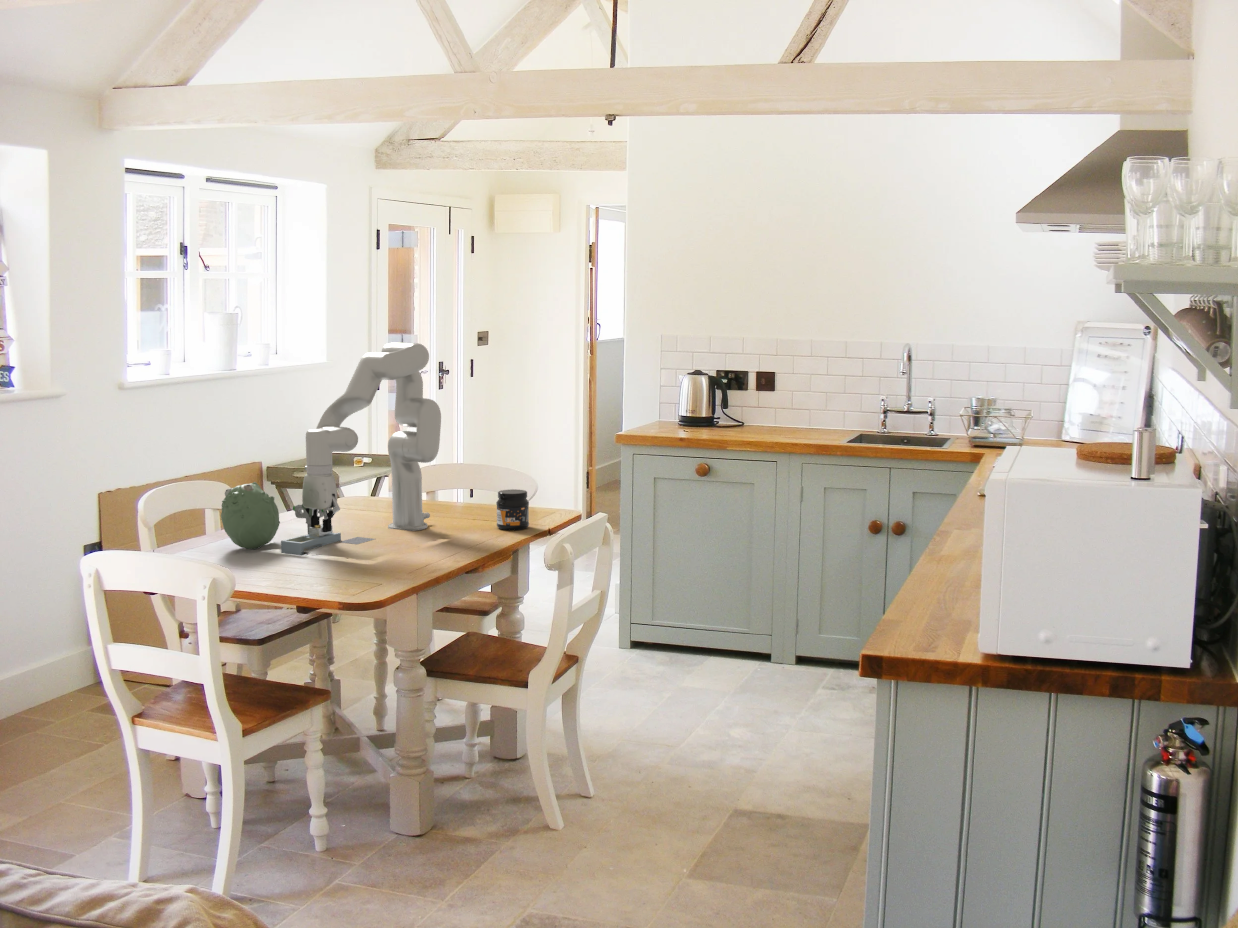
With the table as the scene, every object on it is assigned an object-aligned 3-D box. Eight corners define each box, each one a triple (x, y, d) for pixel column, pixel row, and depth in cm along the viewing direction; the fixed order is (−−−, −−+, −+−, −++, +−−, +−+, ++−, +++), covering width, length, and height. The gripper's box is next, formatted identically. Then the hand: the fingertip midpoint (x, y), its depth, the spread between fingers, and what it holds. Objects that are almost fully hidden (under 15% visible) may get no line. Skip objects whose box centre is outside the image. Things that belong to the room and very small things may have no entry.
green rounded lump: (291, 543, 363) (289, 478, 360) (259, 556, 345) (256, 487, 342) (245, 541, 367) (242, 476, 364) (210, 553, 348) (207, 485, 346)
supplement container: (492, 530, 385) (491, 493, 383) (502, 524, 395) (502, 488, 393) (523, 531, 382) (522, 494, 381) (533, 525, 392) (533, 489, 391)
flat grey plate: (357, 540, 368) (357, 536, 367) (375, 542, 364) (375, 538, 364) (338, 545, 360) (338, 542, 359) (357, 548, 356) (356, 544, 356)
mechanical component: (323, 538, 370) (322, 507, 369) (292, 537, 372) (291, 505, 371) (327, 537, 373) (326, 505, 372) (297, 535, 375) (296, 504, 374)
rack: (322, 541, 365) (322, 530, 365) (342, 544, 362) (341, 532, 362) (281, 552, 350) (280, 540, 349) (301, 555, 346) (301, 543, 346)
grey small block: (322, 533, 362) (321, 522, 362) (332, 534, 361) (332, 523, 360) (308, 536, 357) (308, 525, 357) (319, 537, 355) (318, 526, 355)
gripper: (289, 470, 357) (291, 530, 359) (333, 473, 350) (335, 535, 352) (306, 467, 364) (308, 526, 366) (349, 470, 356) (351, 531, 359)
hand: (321, 530), depth 359 cm, fingers closed on grey small block, 3 cm apart
